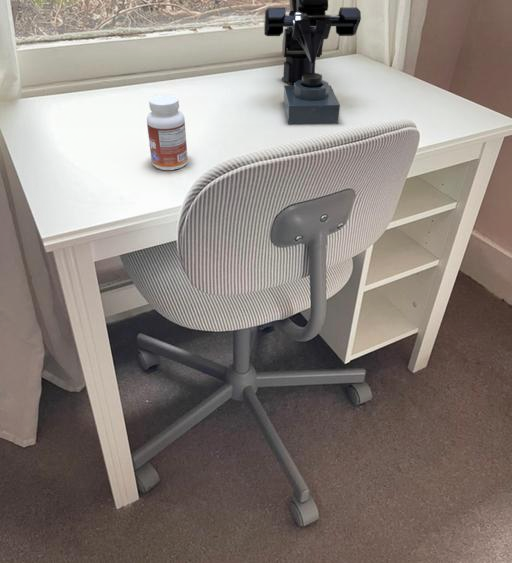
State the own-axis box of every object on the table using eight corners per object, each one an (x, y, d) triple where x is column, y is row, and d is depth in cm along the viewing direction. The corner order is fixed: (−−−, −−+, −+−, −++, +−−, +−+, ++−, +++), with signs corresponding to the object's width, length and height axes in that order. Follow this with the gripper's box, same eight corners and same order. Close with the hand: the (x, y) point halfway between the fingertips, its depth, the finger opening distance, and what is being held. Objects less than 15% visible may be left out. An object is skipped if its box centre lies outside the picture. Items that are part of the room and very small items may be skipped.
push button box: (283, 103, 116) (284, 75, 113) (329, 103, 117) (331, 74, 113) (288, 124, 107) (289, 94, 103) (338, 123, 107) (341, 93, 104)
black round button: (300, 83, 110) (301, 72, 109) (320, 83, 110) (320, 72, 109) (302, 89, 107) (303, 79, 106) (322, 89, 107) (323, 78, 106)
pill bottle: (151, 156, 94) (144, 93, 88) (186, 154, 95) (181, 91, 88) (152, 172, 90) (144, 107, 83) (189, 169, 90) (184, 104, 84)
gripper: (265, -41, 99) (268, 38, 97) (365, -40, 100) (369, 37, 98) (263, -1, 111) (265, 70, 109) (353, -2, 111) (356, 69, 109)
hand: (313, 61), depth 106 cm, fingers closed
